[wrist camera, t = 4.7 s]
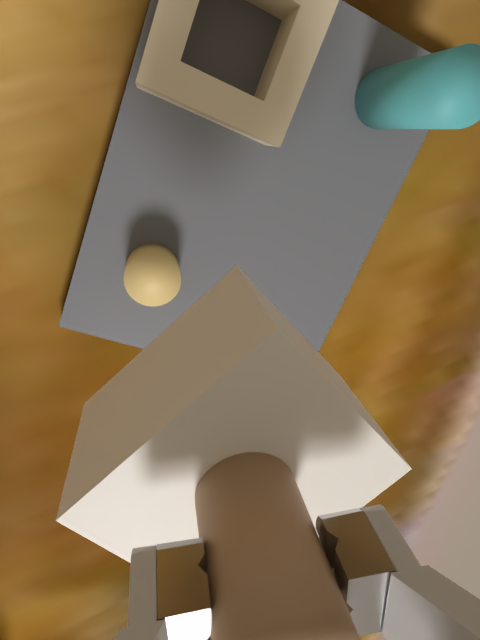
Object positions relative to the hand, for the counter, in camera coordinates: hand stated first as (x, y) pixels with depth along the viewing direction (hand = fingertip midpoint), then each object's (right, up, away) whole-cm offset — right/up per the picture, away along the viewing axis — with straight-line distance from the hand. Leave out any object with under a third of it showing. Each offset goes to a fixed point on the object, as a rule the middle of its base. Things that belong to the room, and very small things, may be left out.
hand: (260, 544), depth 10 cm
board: (0, +12, +16) cm, 20 cm away
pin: (+7, +17, +14) cm, 23 cm away
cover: (-1, +3, +6) cm, 7 cm away
